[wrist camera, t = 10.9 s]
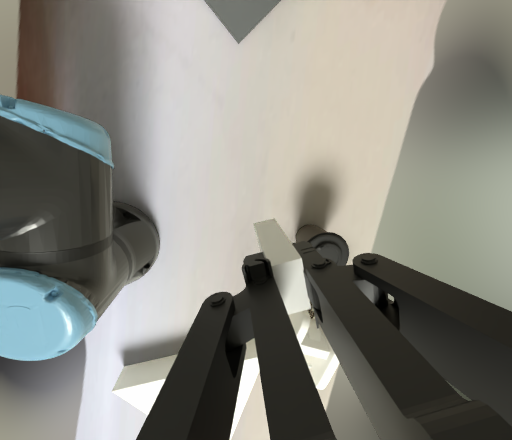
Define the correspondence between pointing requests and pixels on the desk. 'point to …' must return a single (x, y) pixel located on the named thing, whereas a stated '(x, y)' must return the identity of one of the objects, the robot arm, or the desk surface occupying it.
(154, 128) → the desk surface
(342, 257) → the coffee cup
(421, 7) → the desk surface
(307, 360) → the cable organizer
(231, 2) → the mat
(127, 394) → the triangle block
